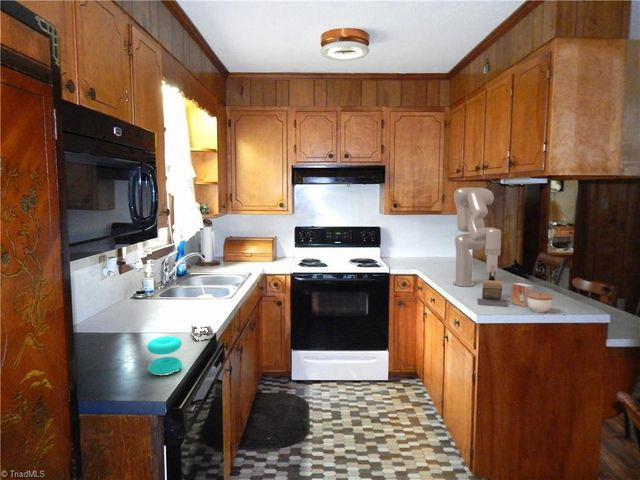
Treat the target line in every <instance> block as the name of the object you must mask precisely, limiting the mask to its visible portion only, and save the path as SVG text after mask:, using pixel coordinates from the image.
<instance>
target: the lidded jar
mask: <svg viewBox="0 0 640 480" xmlns="http://www.w3.org/2000/svg"><path fill="white" fill-rule="evenodd" d="M527 303H528V306H529V307H528V308H529V309H530V310H531V312H533V313H537V314H544V313H547V312H548V311H549V310H550V309H551V307H552V304H553V295H551V294H549V293H542V292H541V291H538V292H533V293H529V294H527Z"/></svg>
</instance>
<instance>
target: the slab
mask: <svg viewBox="0 0 640 480" xmlns="http://www.w3.org/2000/svg"><path fill="white" fill-rule="evenodd" d="M482 281H483V282H482V291H481V294H482V295H481V297H482V298H481V299H495V300H502V293H503V280H495V281H491V280H488V279H483V280H482Z"/></svg>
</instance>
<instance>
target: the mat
mask: <svg viewBox="0 0 640 480" xmlns="http://www.w3.org/2000/svg"><path fill="white" fill-rule="evenodd" d="M477 305H479V306H488V307H489V306H490V307H491V306H493V307H502V308H503V307H504V308H505V307H507V308H508V307H509V304H508V302H507V300H505V299H501V300H495V299H482V298H480V297H479V298H477Z"/></svg>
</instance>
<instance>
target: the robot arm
mask: <svg viewBox="0 0 640 480" xmlns="http://www.w3.org/2000/svg"><path fill="white" fill-rule="evenodd" d="M494 199H495V196H494V193H493V191H492V190H489V189H488V188H484V187H459V188H456V189H455V191H454V194H453V202H454V205H455V208H456V226H457V230H458V231H459V232H461V233H462V234H457V236H455V239H454V245H455V254H456V255H455V281H453V282H452V285H453V286H457V287H474V286H475V283H474V282H473V280H472V279H473V255H472V253H471V252H470V250H482V249H484V255H485V256H486V266H485V268H486V269H485V271H486V272H485V273H486V274H488V279H487V280H491V281H496V275H497V273H498V261H499V260H498V258H499V257H500V256H501V245H502V231H501V229H500V228H495V227H485V221H484V219H483V218H485V217H486V216H487V215H488V213H489V211H488V208H487V205H492V203H493V202H494ZM465 232H466V233H465Z"/></svg>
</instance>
